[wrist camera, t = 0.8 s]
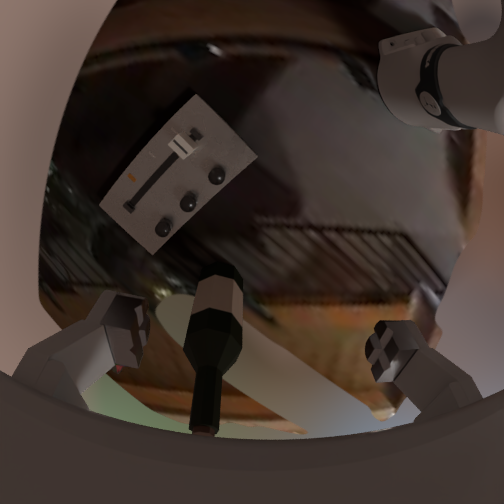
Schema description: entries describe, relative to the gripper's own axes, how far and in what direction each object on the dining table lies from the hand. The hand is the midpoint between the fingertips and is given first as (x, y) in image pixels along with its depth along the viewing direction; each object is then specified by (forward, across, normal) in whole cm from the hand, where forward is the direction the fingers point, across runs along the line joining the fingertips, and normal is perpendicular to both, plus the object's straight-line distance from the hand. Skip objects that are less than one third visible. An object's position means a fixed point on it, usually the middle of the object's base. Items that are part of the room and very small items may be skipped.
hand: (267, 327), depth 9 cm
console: (+35, +12, +5) cm, 37 cm away
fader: (+33, +9, -1) cm, 34 cm away
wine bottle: (+35, +2, +23) cm, 42 cm away
